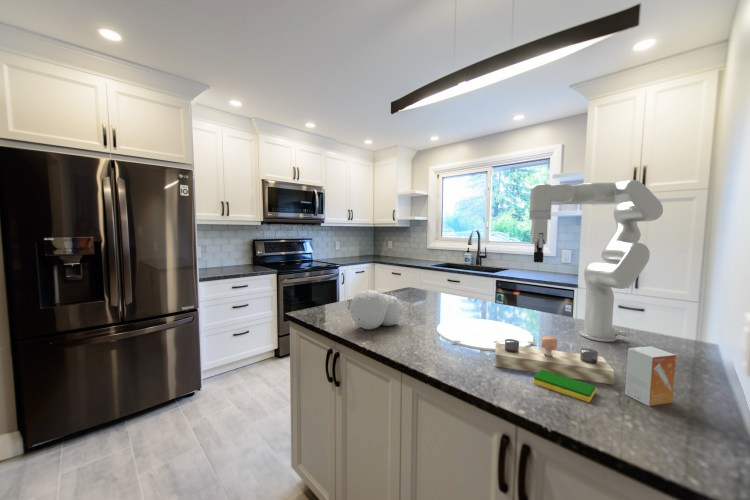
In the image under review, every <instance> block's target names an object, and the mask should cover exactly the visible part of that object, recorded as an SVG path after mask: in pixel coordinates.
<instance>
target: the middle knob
mask: <svg viewBox="0 0 750 500" xmlns="http://www.w3.org/2000/svg"><path fill="white" fill-rule="evenodd" d="M540 345H541V346H540V347H541V348H542V349H546V357H551V354H552V350H553V351H557V349H558V338H556V337H554V336H552V335H542V336H541V342H540Z"/></svg>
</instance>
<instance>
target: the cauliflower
mask: <svg viewBox="0 0 750 500" xmlns="http://www.w3.org/2000/svg"><path fill="white" fill-rule="evenodd" d="M349 313H350V317H351V318H352V321H353V322H354V323H355V324H356V325H357V326H358V327H360V328H362V329H364V330H374V329H377V328H379V327H380V326H381V325H382V326H386V327H388V326H393V325H396V324H397V323H399V321H401V319H402V317H403V313H404V308H403V305H402V302H401V300H400V299H399V298H398V297H396V296H395V295H389V294H386V293H382V292H379V291H377V290H373V289H367V290H362V291H360V292H358V293H357V294H355V295H354V296H353V298H352V300H351V302H350V307H349Z"/></svg>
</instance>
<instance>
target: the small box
mask: <svg viewBox="0 0 750 500" xmlns="http://www.w3.org/2000/svg"><path fill="white" fill-rule="evenodd" d="M676 360H677V354H674V353H671V352H669V351H666V350H663V349H660V348H657V347H655V346H651V345H650V346H637V347H630V348H627V358H626V372H625V373H626V374H625V375H626V377H625V387H624V388H625V389H624V394H625V395H626V396H628V397H630V398H632V399H634V400H636V401H638V402H640V403H642V404H644V405H646V406H648V407H653V406H658V405H665V404H671V403H673V397H674V385H675V373H676V362H677V361H676Z"/></svg>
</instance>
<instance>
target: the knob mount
mask: <svg viewBox="0 0 750 500" xmlns="http://www.w3.org/2000/svg"><path fill="white" fill-rule="evenodd" d="M494 360H495V363H494V364H495V367H498V368H506V369H511V370H518V371H522V372H523V371H524V372H530V373H535V374H537V373H538V372H539V371H540V370H545V371H548V372H551V373H555V374H558V375H561V376H564V377H568V378H571V379H574V380H579V381H587V382H595V383H600V384H606V385H614V383H615V382H614V381H615V370H614V369H613V368H612V367H611V366H610V364H609V363H608V361H606V360H605V358H604V357H603V356H599V355H598V359H597V363H587V362H584V361H582V360H581V359H580V353H576V352H575V353H574V352H568V351H567V352H566V351H561V350H560V351H558V350H552V354H551V357H546V349H545V348H536V347H531V346H529V347H522V346H519V352H509V351H506V350H505V344H499V343H496V351H495V359H494Z"/></svg>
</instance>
